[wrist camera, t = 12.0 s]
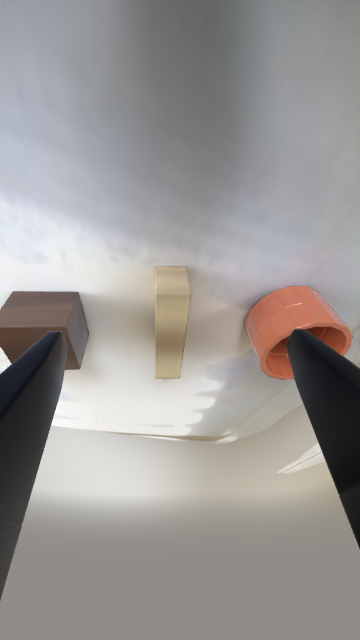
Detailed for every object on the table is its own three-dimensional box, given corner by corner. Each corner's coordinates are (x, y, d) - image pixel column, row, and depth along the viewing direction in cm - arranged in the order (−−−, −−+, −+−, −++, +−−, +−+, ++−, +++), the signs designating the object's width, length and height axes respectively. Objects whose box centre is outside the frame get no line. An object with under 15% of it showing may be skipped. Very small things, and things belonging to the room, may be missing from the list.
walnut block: (12, 291, 21) (-13, 327, 18) (78, 291, 22) (65, 326, 19) (33, 334, 25) (15, 371, 22) (89, 334, 26) (80, 369, 22)
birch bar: (177, 349, 29) (180, 378, 26) (154, 349, 28) (155, 379, 25) (185, 266, 21) (191, 294, 18) (155, 265, 21) (155, 294, 18)
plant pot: (256, 282, 23) (278, 322, 19) (334, 283, 24) (371, 322, 20) (236, 340, 28) (250, 380, 24) (301, 339, 29) (324, 378, 25)
